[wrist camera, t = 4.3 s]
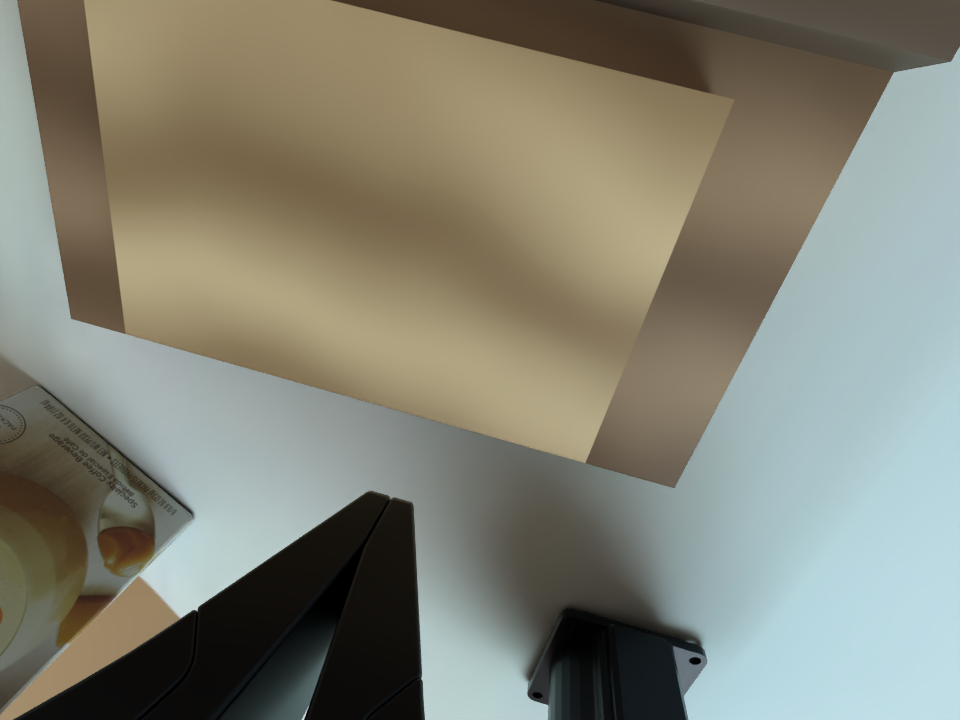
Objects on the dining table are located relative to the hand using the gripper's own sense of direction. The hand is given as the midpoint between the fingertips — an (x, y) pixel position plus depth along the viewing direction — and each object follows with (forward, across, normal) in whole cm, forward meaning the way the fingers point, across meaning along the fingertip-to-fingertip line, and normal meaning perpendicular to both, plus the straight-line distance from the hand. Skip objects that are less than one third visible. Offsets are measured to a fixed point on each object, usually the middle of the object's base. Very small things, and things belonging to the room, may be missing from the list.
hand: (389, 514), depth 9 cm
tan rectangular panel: (+7, +3, -3) cm, 9 cm away
